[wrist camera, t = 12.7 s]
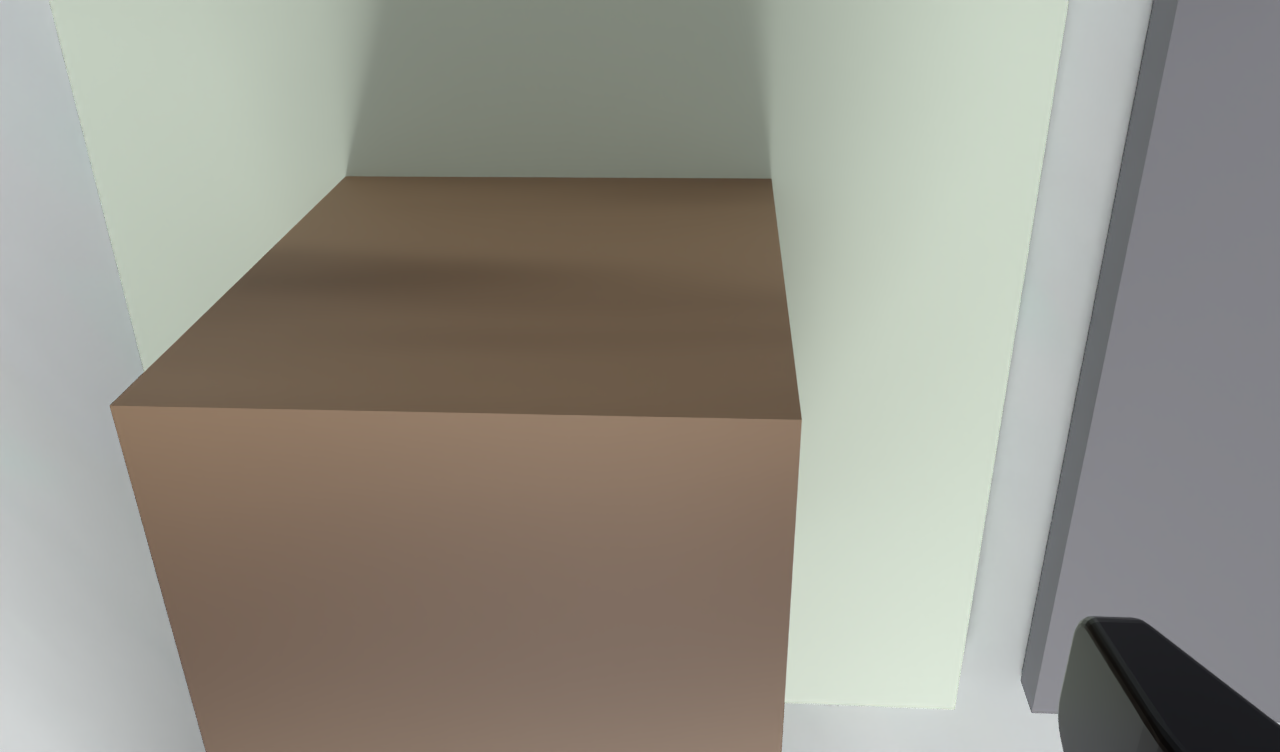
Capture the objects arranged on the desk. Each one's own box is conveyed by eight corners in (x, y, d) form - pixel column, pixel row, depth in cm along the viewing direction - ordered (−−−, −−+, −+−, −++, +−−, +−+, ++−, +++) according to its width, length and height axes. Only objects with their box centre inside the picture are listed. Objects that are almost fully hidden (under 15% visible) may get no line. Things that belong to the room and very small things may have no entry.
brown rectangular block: (757, 534, 13) (772, 895, 9) (396, 524, 14) (238, 870, 9) (771, 178, 11) (802, 419, 7) (345, 176, 12) (108, 406, 7)
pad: (1068, -120, 10) (1088, -117, 10) (946, 677, 15) (954, 710, 14) (56, -108, 11) (22, -105, 10) (240, 651, 16) (222, 681, 15)
